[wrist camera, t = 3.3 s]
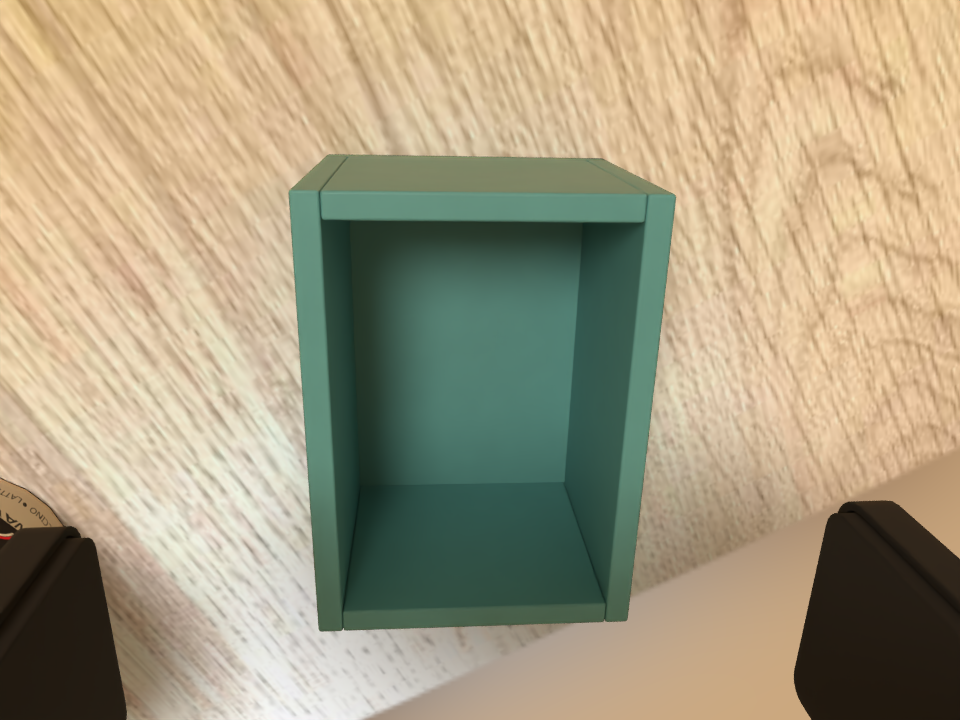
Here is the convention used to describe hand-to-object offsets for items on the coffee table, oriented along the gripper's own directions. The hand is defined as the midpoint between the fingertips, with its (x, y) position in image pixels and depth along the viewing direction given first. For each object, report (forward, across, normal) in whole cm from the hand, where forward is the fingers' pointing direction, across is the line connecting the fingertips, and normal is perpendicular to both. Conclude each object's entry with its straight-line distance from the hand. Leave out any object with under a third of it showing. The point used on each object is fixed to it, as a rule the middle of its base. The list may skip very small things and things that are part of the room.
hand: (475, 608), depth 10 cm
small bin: (+10, -1, 0) cm, 10 cm away
